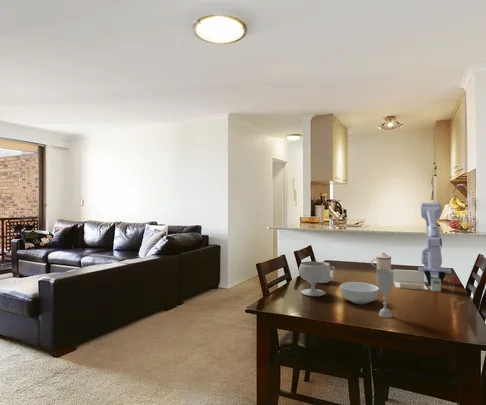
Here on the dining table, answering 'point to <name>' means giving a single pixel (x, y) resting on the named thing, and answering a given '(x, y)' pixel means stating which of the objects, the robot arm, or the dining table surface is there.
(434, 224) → the robot arm
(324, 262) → the mug
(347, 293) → the cereal bowl
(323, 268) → the chalice
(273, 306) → the dining table surface
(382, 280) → the chalice
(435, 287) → the cabinet block
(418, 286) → the cream l-shaped stand
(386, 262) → the teacup with lid
